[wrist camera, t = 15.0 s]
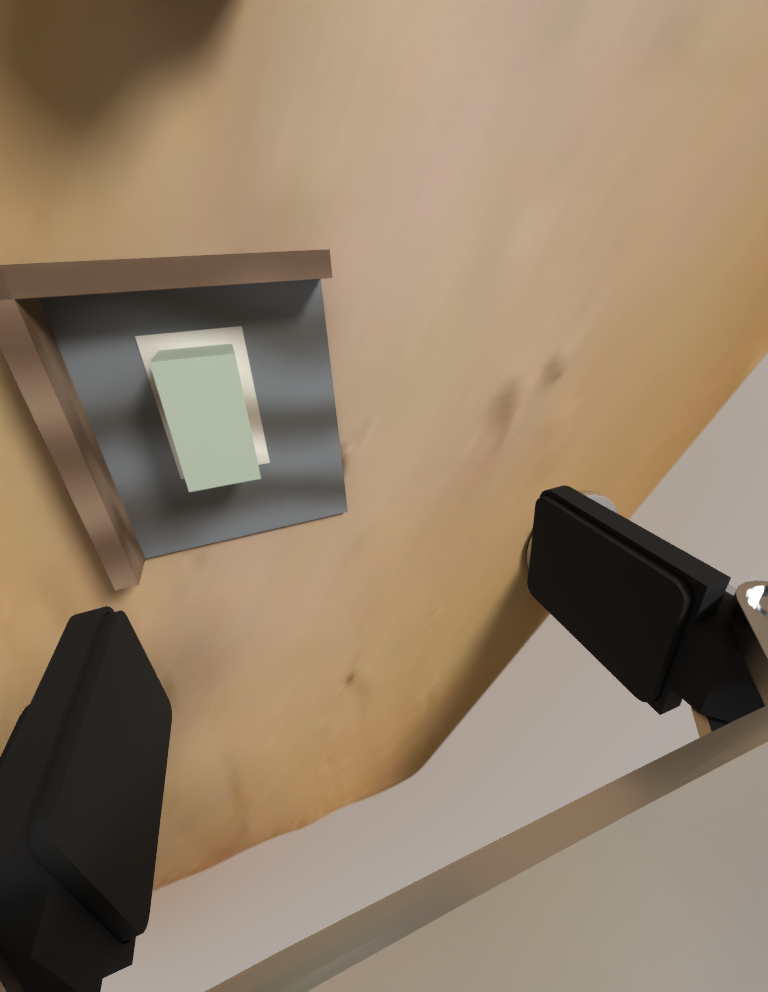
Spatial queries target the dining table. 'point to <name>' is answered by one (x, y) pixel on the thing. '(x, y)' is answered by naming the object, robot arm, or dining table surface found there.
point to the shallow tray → (136, 402)
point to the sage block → (206, 415)
